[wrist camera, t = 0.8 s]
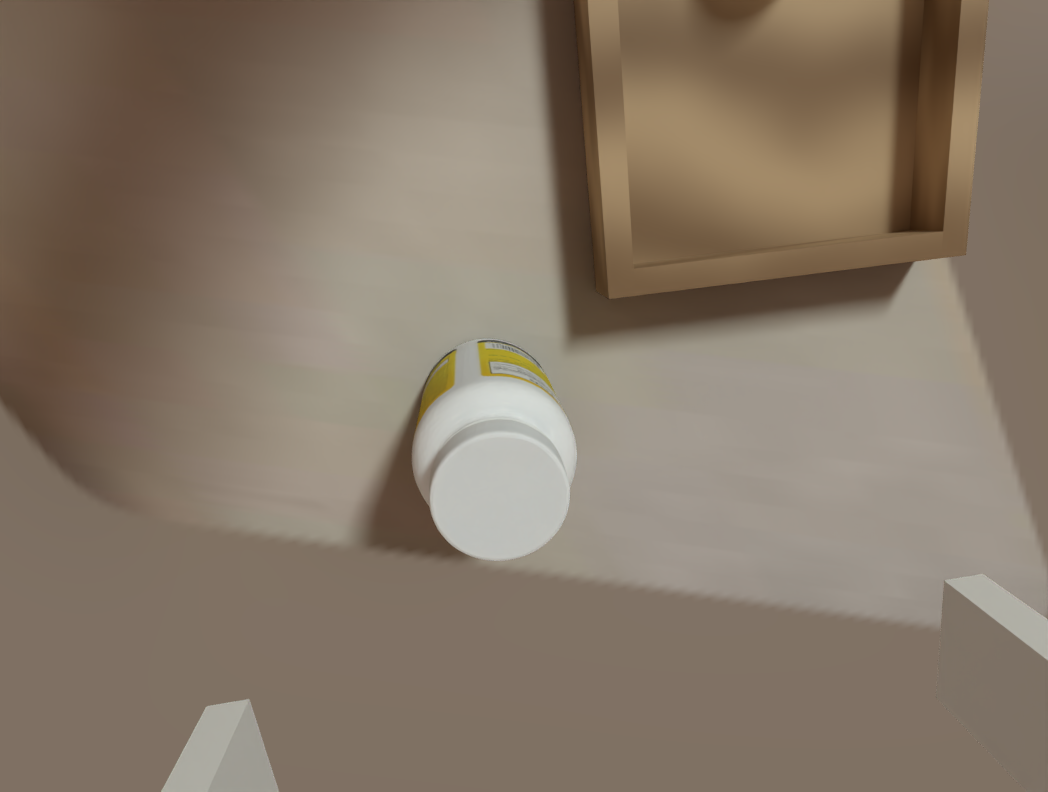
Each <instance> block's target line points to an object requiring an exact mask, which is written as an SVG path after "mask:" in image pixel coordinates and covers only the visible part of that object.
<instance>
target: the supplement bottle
mask: <svg viewBox="0 0 1048 792" xmlns="http://www.w3.org/2000/svg"><path fill="white" fill-rule="evenodd" d="M576 464H577V448H576V441H575V437H574V434H573V431H572V428H571V425H570V422H569V420H568V418H567V416H566V414H565V412H564V410H563V408H562V406H561V404H560V402H559V400H558V398H557V396H556V394H555V392H554V390H553V388H552V386H551V384H550V382H549V380H548V378H547V376H546V375H545V373H544V371H543V369H542V368H541V366H540V365H539V363H538V362H537V361H536V360H535V359H534V358H533V357H532V356H531V355H530V354H529V353H528V352H526V351H525V350H523V349H522V348H520V347H518V346H516V345H514V344H512V343H509V342H506V341H503V340H498V339H477V340H472V341H468V342H465V343H463V344H460V345H458V346H456V347H455V348H453V349H451V350H450V351H448V352H447V353H446V354H445V355H444V356H443V357H442V358H441V359H440V360H439V361H438V362H437V363H436V364H435V366H434V367H433V369H432V370H431V372H430V374H429V376H428V379H427V381H426V384H425V387H424V391H423V396H422V401H421V406H420V411H419V416H418V420H417V425H416V429H415V434H414V438H413V445H412V468H413V474H414V478H415V481H416V484H417V486H418V488H419V490H420V493H421V494H422V496H423V498H424V500H425V501H426V503H427V504H428V505H429V507H430V512H431V516H432V518H433V521H434V523H435V525H436V527H437V529H438V531H439V532H440V533H441V535H442V536H443V537H444V538H445V539H446V540H447V541H448V542H449V543H450V544H451V545H452V546H453V547H455V548H456V549H457V550H459V551H460V552H463V553H465V554H466V555H469V556H472V557H474V558H477V559H482V560H488V561H506V560H513V559H517V558H520V557H523V556H526V555H528V554H531V553H533V552H534V551H536V550H538V549H539V548H541V547H542V546H544V545H545V544H546V543H547V542H548V541H549V540H551V539H552V537H553V536H554V535H555V534H556V533H557V532H558V530H559V529H560V527H561V525H562V524H563V522H564V519H565V517H566V515H567V511H568V507H569V502H570V486H571V484H572V481H573V478H574V475H575V470H576Z"/></svg>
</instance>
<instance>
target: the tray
mask: <svg viewBox="0 0 1048 792" xmlns="http://www.w3.org/2000/svg"><path fill="white" fill-rule="evenodd" d="M988 5H989V0H574V12H575V25H576V38H577V51H578V64H579V77H580V90H581V103H582V116H583V129H584V142H585V155H586V168H587V181H588V194H589V207H590V220H591V233H592V246H593V259H594V272H595V285H596V292H598V293H600V294H601V295H603V296H605V297H606V298H608V299H614V298H622V297H630V296H638V295H646V294H654V293H663V292H671V291H679V290H687V289H695V288H703V287H711V286H719V285H727V284H735V283H743V282H751V281H760V280H768V279H776V278H784V277H792V276H800V275H808V274H816V273H824V272H832V271H840V270H849V269H857V268H865V267H873V266H881V265H889V264H897V263H905V262H913V261H921V260H929V259H938V258H946V257H954V256H962V255H966V247H967V238H968V227H969V216H970V204H971V193H972V182H973V170H974V160H975V149H976V138H977V127H978V116H979V105H980V94H981V82H982V71H983V61H984V50H985V38H986V27H987V16H988Z"/></svg>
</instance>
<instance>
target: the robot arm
mask: <svg viewBox="0 0 1048 792" xmlns="http://www.w3.org/2000/svg"><path fill="white" fill-rule="evenodd" d="M939 647H940V648H939V661H938V674H937V688H936V689H937V690H936V698H937V699H938V701H940V703H941V704H942V705H943V706H944V707H945V708H946V709H947V710H948V711H949V712H950V713H951V714H952V715H953V716H954V717H955V718H956V719H957V720H958V721H959V722H960V723H961V724H962V725H963V727H964V728H965V729H966V730H968V732H969V733H970V734H971V735H972V736H973V737H974V738H975V739H976V740H977V741H978V742H979V743H980V744H981V745H982V746H983V747H984V748H985V749H986V750H987V751H988V752H989V753H990V755H991V756H992V757H993V758H994V759H995V760H996V761H997V762H998V763H999V764H1000V765H1001V766H1002V767H1003V768H1004V769H1005V770H1006V771H1007V772H1008V773H1009V774H1010V775H1011V776H1012V777H1013V778H1014V779H1015V780H1016V781H1017V783H1018V784H1019V785H1020V786H1021V787H1022V788H1023V789H1024V790H1025V791H1026V792H1048V619H1046V618H1045V617H1043V616H1042V615H1041V614H1039V613H1038V612H1036V611H1035V610H1033V609H1032V608H1031V607H1029V606H1028V605H1026V604H1025V603H1024V602H1022V601H1021V600H1019V599H1018V598H1016V597H1015V596H1014V595H1012V594H1011V593H1009V592H1008V591H1006V590H1005V589H1004V588H1002V587H1001V586H999V585H998V584H996V583H995V582H994V581H992V580H991V579H989V578H988V577H986V576H985V575H984V574H979V575H973V576H967V577H961V578H956V579H950V580H944V590H943V604H942V618H941V632H940V646H939ZM161 792H279V791H278V787H277V784H276V781H275V778H274V775H273V772H272V769H271V765H270V762H269V759H268V756H267V753H266V750H265V747H264V743H263V741H262V737H261V734H260V731H259V728H258V725H257V722H256V719H255V715H254V712H253V709H252V706H251V703H250V700H249V699H247V700H241V701H235V702H229V703H223V704H218V705H212V706H207V707H206V709H205V710H204V712H203V714H202V716H201V718H200V720H199V722H198V724H197V725H196V727H195V729H194V731H193V733H192V735H191V737H190V738H189V741H188V742H187V744H186V746H185V748H184V750H183V752H182V753H181V755H180V757H179V759H178V761H177V763H176V765H175V767H174V769H173V770H172V772H171V774H170V776H169V778H168V780H167V782H166V784H165V785H164V787H163V789H162V791H161Z"/></svg>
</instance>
